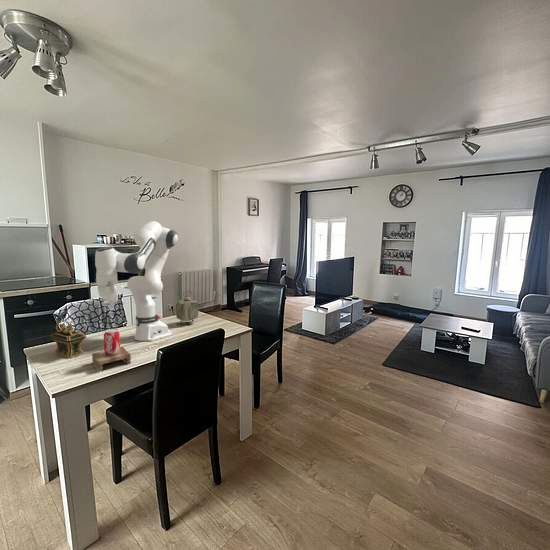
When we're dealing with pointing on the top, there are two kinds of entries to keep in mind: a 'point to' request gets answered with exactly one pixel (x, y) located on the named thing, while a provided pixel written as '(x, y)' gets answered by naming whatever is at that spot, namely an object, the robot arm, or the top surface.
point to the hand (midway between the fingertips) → (108, 308)
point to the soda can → (111, 341)
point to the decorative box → (68, 341)
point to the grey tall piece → (187, 309)
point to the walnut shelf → (109, 358)
